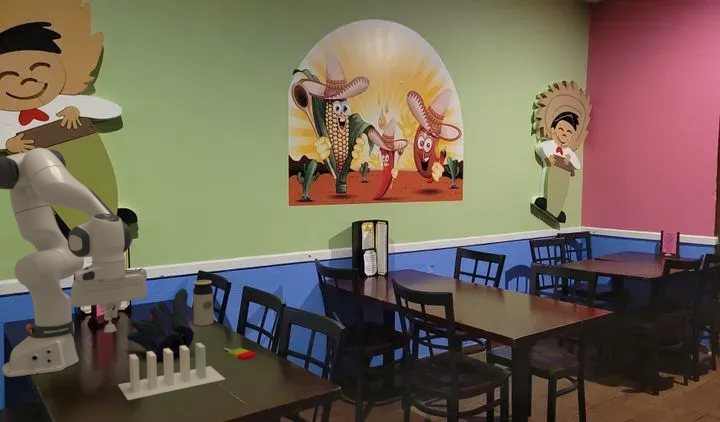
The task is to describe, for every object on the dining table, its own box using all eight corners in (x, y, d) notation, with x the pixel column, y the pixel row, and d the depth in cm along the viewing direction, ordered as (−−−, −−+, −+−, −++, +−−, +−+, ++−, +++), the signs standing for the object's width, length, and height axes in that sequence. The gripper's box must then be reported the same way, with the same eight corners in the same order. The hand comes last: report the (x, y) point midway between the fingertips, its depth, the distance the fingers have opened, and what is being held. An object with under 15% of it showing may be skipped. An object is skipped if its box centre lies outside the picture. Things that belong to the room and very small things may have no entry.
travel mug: (192, 322, 247) (190, 280, 245) (210, 320, 251) (209, 279, 249) (196, 327, 240) (195, 284, 238) (215, 324, 244) (214, 282, 242)
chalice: (123, 329, 236) (121, 286, 235) (108, 334, 230) (106, 289, 229) (112, 327, 240) (110, 284, 238) (97, 331, 234) (95, 287, 233)
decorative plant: (152, 388, 199) (131, 343, 222) (221, 349, 209) (194, 310, 232) (128, 344, 188) (109, 302, 212) (201, 305, 198) (175, 269, 222)
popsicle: (244, 362, 199) (244, 356, 199) (217, 352, 209) (217, 347, 209) (257, 357, 203) (256, 352, 203) (230, 349, 213) (230, 344, 213)
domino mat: (127, 401, 165) (127, 400, 165) (117, 385, 177) (117, 384, 177) (225, 380, 181) (225, 379, 181) (210, 367, 193) (210, 366, 193)
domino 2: (151, 389, 173) (150, 356, 172) (147, 383, 177) (146, 351, 176) (157, 387, 174) (156, 355, 173) (152, 382, 178) (151, 351, 177)
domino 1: (134, 392, 170) (133, 359, 169) (130, 387, 174) (129, 354, 174) (139, 391, 171) (138, 358, 170) (135, 386, 175) (134, 353, 175)
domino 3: (168, 385, 176) (167, 353, 175) (164, 380, 180) (163, 349, 179) (174, 384, 177) (173, 352, 176) (169, 379, 181) (168, 348, 180)
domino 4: (185, 382, 179) (184, 350, 178) (180, 377, 183) (179, 346, 182) (190, 381, 179) (189, 349, 179) (185, 376, 184) (184, 345, 183)
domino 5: (200, 372, 186) (200, 342, 186) (206, 377, 182) (205, 346, 181) (196, 373, 186) (195, 343, 185) (201, 378, 181) (200, 347, 181)
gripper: (143, 265, 175) (145, 310, 176) (68, 272, 164) (70, 320, 165) (149, 268, 170) (150, 314, 171) (71, 276, 158) (74, 325, 159)
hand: (110, 317), depth 168 cm, fingers closed
